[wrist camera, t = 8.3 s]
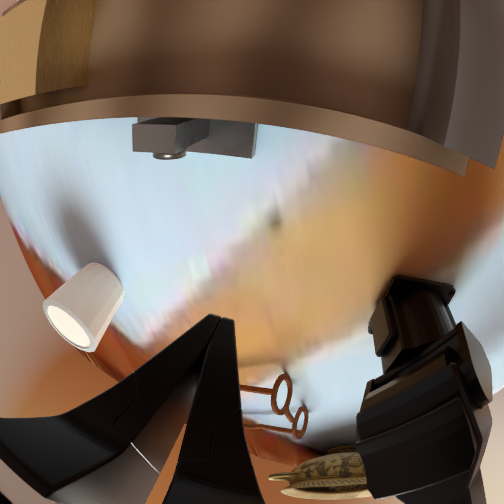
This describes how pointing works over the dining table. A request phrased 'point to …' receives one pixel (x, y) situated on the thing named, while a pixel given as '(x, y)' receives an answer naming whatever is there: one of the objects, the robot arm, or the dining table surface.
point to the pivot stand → (193, 137)
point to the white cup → (85, 306)
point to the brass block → (45, 47)
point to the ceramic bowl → (328, 476)
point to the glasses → (285, 410)
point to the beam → (299, 71)
